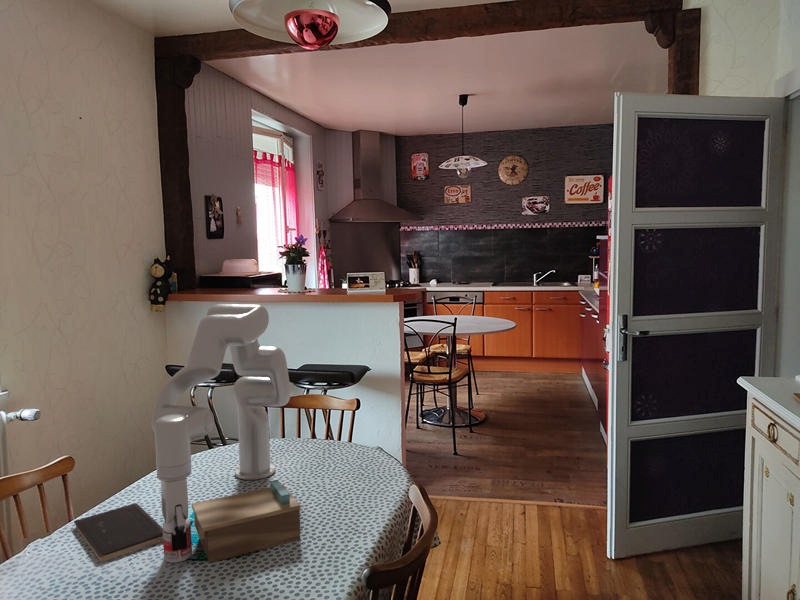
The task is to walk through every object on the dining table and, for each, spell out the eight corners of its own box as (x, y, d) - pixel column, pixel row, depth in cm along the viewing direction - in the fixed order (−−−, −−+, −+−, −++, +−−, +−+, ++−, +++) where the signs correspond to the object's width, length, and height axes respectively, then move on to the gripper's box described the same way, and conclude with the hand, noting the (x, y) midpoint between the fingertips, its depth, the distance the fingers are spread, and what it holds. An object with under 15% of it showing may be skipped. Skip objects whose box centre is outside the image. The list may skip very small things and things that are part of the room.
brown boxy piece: (199, 538, 144) (197, 507, 143) (284, 517, 155) (283, 489, 154) (208, 563, 133) (207, 530, 132) (300, 539, 143) (299, 508, 143)
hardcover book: (99, 565, 133) (99, 555, 133) (74, 529, 150) (73, 520, 150) (169, 541, 144) (169, 532, 144) (138, 510, 161) (137, 502, 161)
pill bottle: (190, 547, 140) (188, 503, 139) (193, 559, 134) (191, 514, 133) (163, 553, 137) (160, 509, 136) (164, 566, 132) (162, 520, 131)
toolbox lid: (192, 519, 144) (191, 493, 143) (283, 499, 155) (282, 475, 154) (202, 545, 131) (201, 517, 131) (300, 521, 142) (299, 495, 142)
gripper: (152, 459, 139) (156, 530, 141) (161, 485, 124) (164, 564, 126) (185, 454, 143) (188, 523, 145) (197, 478, 128) (200, 555, 130)
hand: (177, 541), depth 135 cm, fingers closed on pill bottle, 6 cm apart
